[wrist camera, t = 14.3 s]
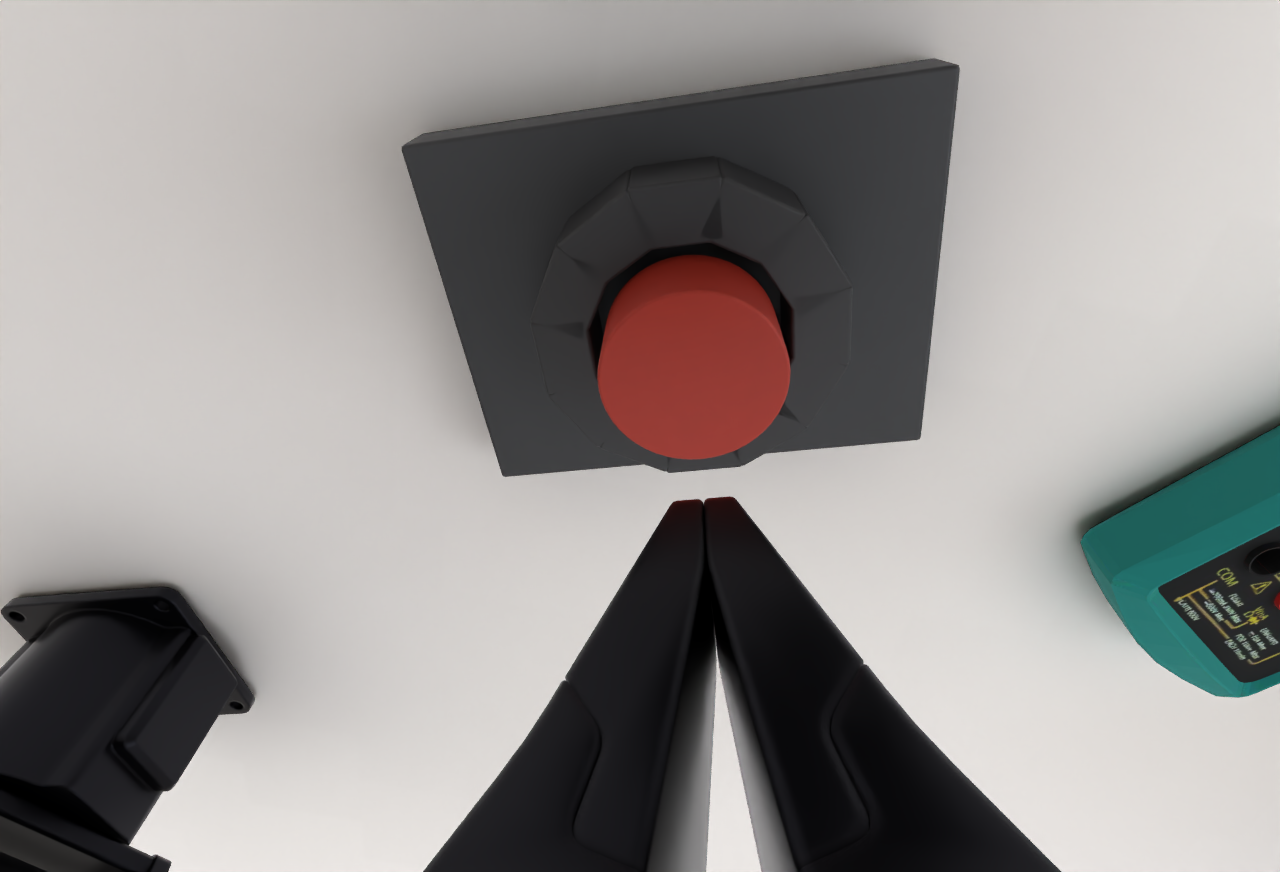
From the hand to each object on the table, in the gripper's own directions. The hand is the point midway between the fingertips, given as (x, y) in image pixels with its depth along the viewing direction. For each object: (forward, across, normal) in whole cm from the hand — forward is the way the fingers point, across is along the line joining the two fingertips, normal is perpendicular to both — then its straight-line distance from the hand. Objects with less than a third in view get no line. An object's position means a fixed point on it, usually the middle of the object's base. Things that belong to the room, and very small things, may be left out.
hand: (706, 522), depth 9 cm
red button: (+6, 0, 0) cm, 6 cm away
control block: (+9, 0, 0) cm, 9 cm away
